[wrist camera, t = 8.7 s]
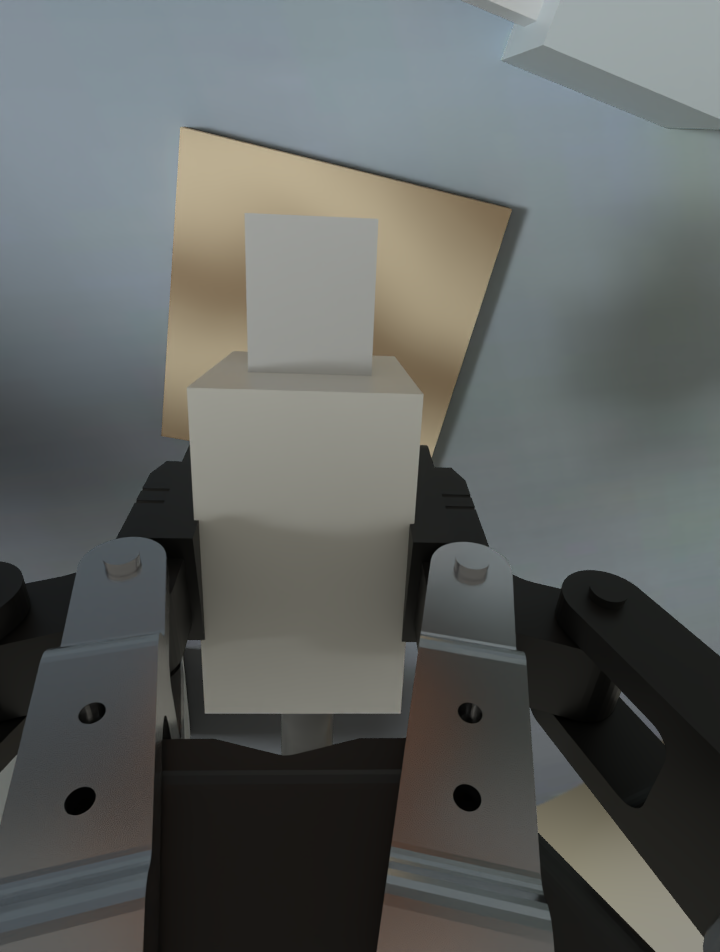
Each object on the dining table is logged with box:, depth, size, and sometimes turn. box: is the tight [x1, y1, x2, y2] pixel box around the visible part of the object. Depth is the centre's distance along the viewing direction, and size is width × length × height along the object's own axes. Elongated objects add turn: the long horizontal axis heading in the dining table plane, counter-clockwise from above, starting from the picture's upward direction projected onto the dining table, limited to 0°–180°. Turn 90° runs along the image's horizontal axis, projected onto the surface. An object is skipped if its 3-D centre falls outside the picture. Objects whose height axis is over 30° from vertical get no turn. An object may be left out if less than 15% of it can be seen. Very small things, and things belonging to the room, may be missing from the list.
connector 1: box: [187, 213, 424, 755], centre depth 12 cm, size 12×4×4 cm, turn 178°
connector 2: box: [462, 0, 720, 129], centre depth 16 cm, size 12×4×4 cm, turn 72°
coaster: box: [161, 127, 512, 458], centre depth 22 cm, size 11×11×1 cm
